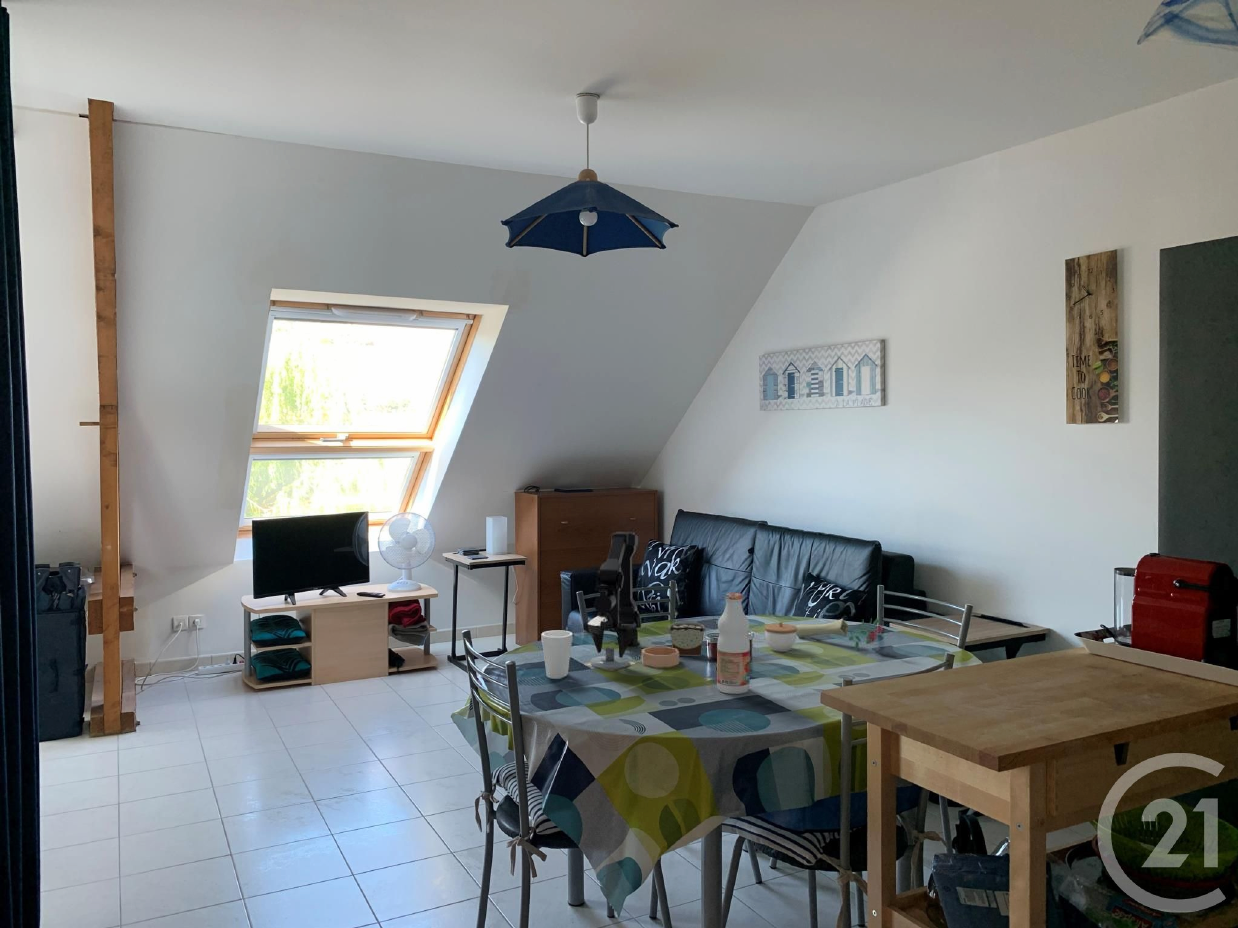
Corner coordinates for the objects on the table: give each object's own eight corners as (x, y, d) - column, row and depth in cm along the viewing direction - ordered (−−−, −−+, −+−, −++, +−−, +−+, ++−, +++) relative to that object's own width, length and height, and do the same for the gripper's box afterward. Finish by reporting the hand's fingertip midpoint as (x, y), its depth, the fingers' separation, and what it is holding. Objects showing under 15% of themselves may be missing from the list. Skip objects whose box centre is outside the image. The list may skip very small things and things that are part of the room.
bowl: (634, 663, 297) (634, 651, 297) (657, 656, 306) (657, 644, 305) (663, 670, 289) (663, 657, 289) (685, 662, 298) (685, 650, 298)
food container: (705, 651, 313) (705, 622, 312) (705, 656, 307) (705, 626, 306) (669, 650, 314) (669, 621, 313) (668, 655, 308) (668, 625, 307)
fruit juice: (712, 686, 272) (713, 592, 271) (742, 684, 274) (743, 590, 273) (723, 695, 263) (723, 598, 262) (754, 693, 265) (755, 596, 264)
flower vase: (809, 657, 334) (895, 653, 310) (788, 652, 326) (875, 647, 302) (809, 624, 338) (895, 617, 313) (789, 619, 330) (875, 611, 306)
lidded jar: (761, 651, 313) (761, 624, 312) (768, 644, 322) (768, 617, 322) (793, 654, 309) (793, 626, 308) (799, 647, 318) (799, 620, 318)
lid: (582, 664, 295) (582, 648, 295) (608, 656, 304) (608, 641, 304) (611, 671, 287) (611, 655, 287) (637, 663, 296) (637, 647, 296)
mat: (583, 665, 295) (583, 664, 295) (608, 657, 304) (608, 656, 304) (611, 672, 287) (611, 670, 287) (636, 664, 296) (636, 662, 296)
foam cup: (577, 673, 286) (577, 631, 285) (565, 681, 277) (565, 638, 276) (548, 670, 289) (548, 629, 288) (536, 678, 280) (536, 635, 280)
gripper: (571, 606, 295) (571, 655, 295) (615, 614, 283) (615, 665, 283) (594, 601, 303) (594, 648, 304) (638, 609, 291) (638, 658, 292)
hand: (610, 655), depth 295 cm, fingers open, 9 cm apart
